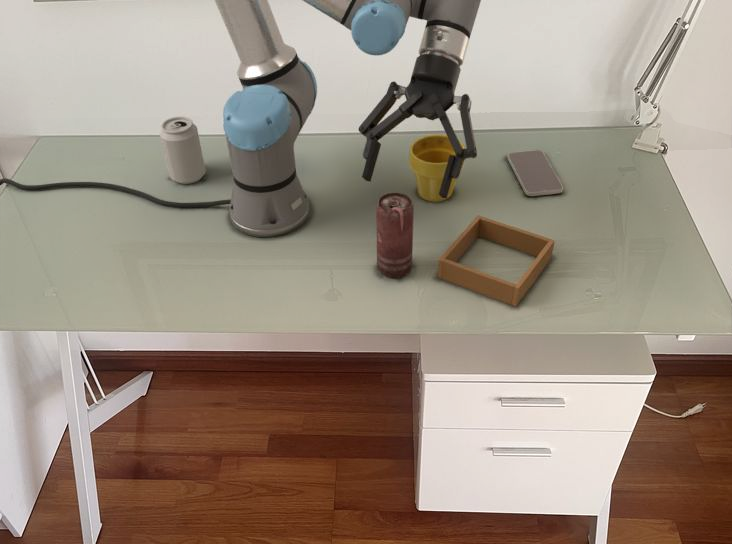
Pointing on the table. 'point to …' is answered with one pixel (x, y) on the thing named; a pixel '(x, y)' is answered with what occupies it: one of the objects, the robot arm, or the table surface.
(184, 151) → the can
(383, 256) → the can
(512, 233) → the wooden square frame
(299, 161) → the table surface
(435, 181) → the flower pot
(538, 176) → the smartphone
